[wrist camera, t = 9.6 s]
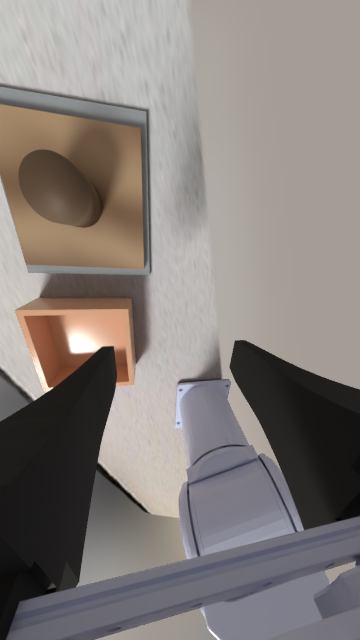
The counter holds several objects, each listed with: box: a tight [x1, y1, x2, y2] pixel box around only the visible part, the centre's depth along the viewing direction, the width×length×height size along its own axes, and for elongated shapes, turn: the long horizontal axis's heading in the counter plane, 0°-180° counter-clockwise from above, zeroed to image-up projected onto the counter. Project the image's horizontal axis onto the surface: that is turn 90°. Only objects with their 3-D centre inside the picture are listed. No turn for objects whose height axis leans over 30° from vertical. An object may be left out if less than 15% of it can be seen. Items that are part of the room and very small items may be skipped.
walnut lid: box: [0, 104, 144, 269], centre depth 13 cm, size 10×10×5 cm
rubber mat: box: [0, 87, 150, 275], centre depth 15 cm, size 12×11×1 cm
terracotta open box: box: [15, 298, 136, 392], centre depth 19 cm, size 9×9×4 cm
